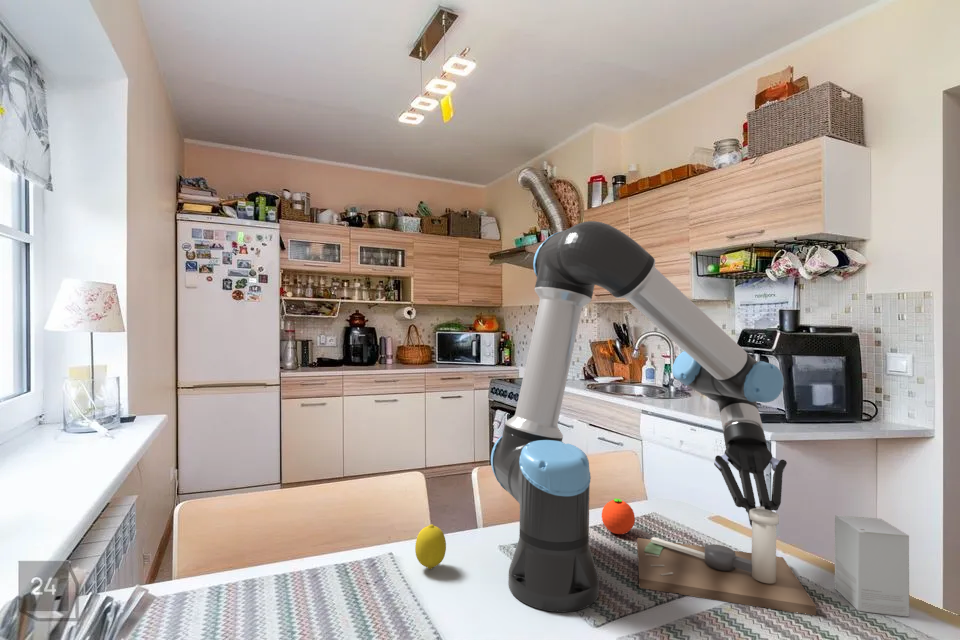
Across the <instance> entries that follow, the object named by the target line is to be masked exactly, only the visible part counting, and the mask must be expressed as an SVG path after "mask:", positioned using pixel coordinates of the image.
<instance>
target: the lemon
mask: <svg viewBox="0 0 960 640" xmlns="http://www.w3.org/2000/svg"><path fill="white" fill-rule="evenodd" d="M414 547H415V556H416V558H417V561H418V563H419V564H420V565H422V566H423V567H425V568H427V569H428V570H433V569H434V567H437V566H438V565H440V564H441V563H442V562H443V560H444V558H445V555H446V551H447V543H446V537H445V534H444V532H443V531H442V529H441V528H440V527H438V526H435V525H434V524H432V523H431V524H430V523H429V524H428V525H427V526H425V527H423V528H422V529H420V531H419V533H418V534H417V537H416V540H415V546H414Z"/></svg>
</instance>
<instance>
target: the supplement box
mask: <svg viewBox="0 0 960 640" xmlns="http://www.w3.org/2000/svg"><path fill="white" fill-rule="evenodd" d="M834 589H835V590H836V591H838V593H839V594H840V595H841V596H843V598H845V600H847V601H848V603H850V605H851V606H853V607H854V608H855V609H856V611H859V612H865V613H866V612H867V613H873V614H882V615H890V616H899V617H910V535H909V534H907V533H906V532H904V531H902V530H901V529H899V528H897V527H896V526H894V525H892V524H891V523H889V522H887V521H885V520H884V519H882V518H878V517H877V518H876V517H865V516H849V515H834Z"/></svg>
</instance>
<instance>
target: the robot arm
mask: <svg viewBox="0 0 960 640" xmlns="http://www.w3.org/2000/svg"><path fill="white" fill-rule="evenodd" d="M532 265H533V271H534V274H535V276H536V281H535V285H534V292H535V293H536V295H537V296H538V298H539V302H538V306H537V313H536V315H535V320H534V321H535V322H534V325H533V331H532V334H531V340H530V343H529V348H528V353H527V357H526V362H525V367H524V371H523V372H524V373H523V376H522V380H521V385H520V390H519V395H518V398H517V399H518V400H517V404H516V409H515V413H514V415H513V416H512V417H511V418H509V419H507V420H506V421H505V423H504V429H503V432H502V435H501V436H500V437H499V438H498V439H497V440H496V441H495V442H494V444H493V447H492V449H491V454H490V467H491V469H492V473H493V475H494V477H495V480H496V481H497V482H498V483H499V485H500V487H502V489H504V490H505V491H506V492H508V493H509V494H510V495H511V497H513V498H514V499H515V501H516V502H517V503H518V504H519V535H518V536H519V537H518V541H517V544H516V548H515V550H514V554H513V556H512V559H511V562H510V565H509V568H508V581H507V582H508V588H509V591H510V593H511V594H512V595H513V596H514V597H515V598H516V599H518V600H519V601H520V602H522V603H524V604H526V605H528V606H530V607H533V608H535V609H538V610H543V611H548V612H557V613H559V612H561V613H562V612H563V613H565V612H566V613H567V612H575V611H579V610H583V609H585V608H587V607H589V606H591V605H593V604H594V603H595V602H596V601H597V599H598V598H599V594H600V579H599V574H598V571H597V567H596V564H595V561H594V558H593V555H592V550H591V547H590V543H589V541H590V540H589V539H590V538H589V534H590V533H589V532H590V531H589V530H590V493H591V492H590V491H591V490H590V487H591V486H590V485H591V484H590V483H591V478H592V476H591V471H590V461H589V459H588V456H587V455H586V453H585V452H584V451H583V449H581V448H579V447H577V446H576V445H573V444H572V443H564V442H563V438H564V435H563V433H562V431H561V430H560V429H559V426H558V423H559V418H560V413H561V409H562V404H563V399H564V395H565V389H566V387H567V386H566V385H567V381H568V376H569V372H570V366H571V362H572V356H573V353H574V352H573V351H574V349H575V343H576V338H577V334H578V328H579V324H580V319H581V314H582V310H583V308H584V307H585V306H588V304H590V303H591V302H592V299H593V294H594V290H595V285H596V286H598V287H600V288H602V289H604V290H606V291H608V292H609V294H611V295H612V296H613V297H614V298H616V299H625V300H626V301H628V302H629V303H630V305H632V306H633V307H634V308H635V309H637V311H638V312H640V313H641V314H642V315H644V317H646V319H648V321H650V322H652V324H653V325H654V326H656V327H657V328H658V329H659V330H660V331H661V332H662V333H664V334H665V335H666V336H667V337H668V338H669V339H671V340H672V341H673V342H674V343H675V344H676V345H677V346H678V347H679V348H681V349H682V350H683V351H682V352H680V353H679V354H678V355H677V357H675V360H674V362H673V365H672V366H671V367H672V369H671V370H672V375H673V377H674V378H675V379H676V380H677V381H679V382H680V383H682V384H683V385H684V386H685V387H688V388H690V389H692V390H694V391H696V392H698V393H699V394H701V395H704V396H705V397H707V398H708V399H710V400H712V401H714V402H715V403H717V404H718V409H719V413H720V420H721V428H722V430H723V439H724V446H725V450H724V454H722V455H716V456H715V458H714V462H713V464H714V466H715V468H717V469H718V471H719V472H720V473H721V475H722V478H723V480H724V482H725V484H726V486H727V489H728V491H729V493H730V495H731V498H732V500H733V502H734V504H735V505H734V506H736V507H737V508H743V509H745V511H746V513H747V514H748V515H747V516H748V521H749V526H750V527H751V528H752V520H751V519H750V518H749V510H750V509H754V508H760V509H766V510H770V511H774V512H776V511H778V510H779V508H780V505H781V503H782V491H783V490H782V489H783V473H784V471H785V469H786V466H787V464H788V463H787V460H785V459H780V460H779V459H777V458H775V457H773V454H772V452H771V451H770V449H769V448H768V444H767V443H768V442H767V439H766V435H765V431H764V429H763V428H764V426H763V422H762V419H761V415H760V411H759V408H758V403H763V404H764V403H765V404H766V403H772V402H774V401H775V400H777V399H778V398H779V397H780V395H781V393H782V391H783V389H784V384H785V382H784V381H785V380H784V375H783V373H782V371H781V369H780V368H779V367H778V366H777V365H775V364H773V363H770V362H766V361H762V360H760V361H758V360H756V359H755V358H754V357H753V356H751V355H750V354H749V353H748V352H747V351H746V350H744V349H743V347H741V346H740V345H739V344H738V343H737V342H736V341H735V340H734V339H733V338H732V337H730V335H728V334H727V332H725V331H724V330H723V329H722V328H721V327H720V325H718V324H717V323H715V321H714V320H712V318H710V317H709V316H708V315H707V314H706V313H705V312H704V311H703V310H702V309H700V308H699V307H698V306H697V305H696V304H695V303H694V302H693V301H692V300H691V299H690V298H689V297H687V295H685V294H684V293H683V292H682V291H681V290H680V289H679V288H678V287H677V285H675V284H673V282H671V281H670V280H669V279H668V278H667V277H666V276H665V275H664V274H663V273H661V271H660V270H658V269H657V267H656V259H655V257H653V256H652V255H651V254H650V253H649V252H648V251H647V250H646V249H645V248H643V247H642V246H641V245H640V244H639V243H638V242H636V240H634V239H633V238H631V237H630V236H629V235H628V234H626V233H625V232H623V231H622V230H620V229H618V228H616V227H615V226H612V225H611V224H607V223H605V222H602V221H595V220H593V221H592V220H591V221H590V220H588V221H583V222H580V223H577V224H575V225H573V226H571V227H569V228H568V229H565V230H562V231H559V232H555V233H553V234H552V235H550V236H548V237H547V238H546V239H545V240H544V241H543V242H542V243H541V244H540V245H539V246H538V248H537V249H536V251H535V254H534V257H533V264H532ZM729 463H730V464H731V465H732V466H733V467H734V469H736V470H737V471H738V475H739V478H740V483H741V489H742V491H741V489H740V487H739V483H738V482H737V481H736V477H735V475H734V473H733V471H732V469H731V467H730V465H729ZM769 464H770V466H771V470H772V471H773V475H772V486H771V498H770V495H769V490H768V487H767V482H766V477H765V470H766V469H767V467H768V466H769ZM751 474H752V476H753V479H754V482H755V488H756V493H757V496H758V501H759V506H758V505H756V504H757V503H756V499H755V493H754V488H753V485H752V479H751ZM770 499H771V500H770Z"/></svg>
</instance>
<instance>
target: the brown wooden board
mask: <svg viewBox="0 0 960 640" xmlns="http://www.w3.org/2000/svg"><path fill="white" fill-rule="evenodd" d="M670 542H671V541H670ZM671 543H674V544H678V545H681V546H684V547H687V548H691V549H694V550H697V551H700V552H704V553H705V546H702V545H695V544H693V545H692V544H687V543H679V542H671ZM636 547H637V567H638V569H637V570H638V586H639V587H638V588H640V589H647V590H653V591H658V592H665V593H670V592H672V593H671V594H676V593H679V594H678V595H684V596H690V597H695V598H696V597H697V598H703V599H707V600H715V601H720V602H727V603H733V604H739V605H744V604H745V605H746V606H751V605H753V606H752V607H757V606H760V607H759V608H763V607H765V609H769V608H771V610H775V609H777V611H781V610H782V611H783V612H790V613H794V612H795V613H796V612H798V613H796V614H800V613H804V614H803V615H806V614H810V615H809V616H812V615H816V616H817V604H815V602H814V601H813V599H812V598H811V597H810V594H808V592H807V590H806V589H805V588H804V586H803V585H802V583H801V582H800V580H799V579H798V578H797V576H796V575H795V573H794V572H793V570H792V568H790V567H791V566H789V564H788V563H787V561H786V560H785V558H784V557H783V556H777V555H776V582H775V583H763V582H760V581H757V580H756V579H754V578H753V577H752V573H751V572H748V571H745V570H742V569H738V568H735V569H734V570H732V571H722V570H717V569H714V568H712V567H710V566H708V565H707V564H706V563H705V559H703V558H700V557H697V556H694V555H690V554H687V553H684V552H681V551H678V550H675V549H672V548H668V547H665V546H662V545H659V544H656V543H653V542H651V538H650V539H647V538H642V537H641V538H640V537H637V546H636ZM733 551H734V552H735V553H736V556H738V557H742V558H745V559H748V560H752V552H747V551H739V550H733ZM745 605H744V606H745ZM805 613H806V614H805ZM811 614H812V615H811Z"/></svg>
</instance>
